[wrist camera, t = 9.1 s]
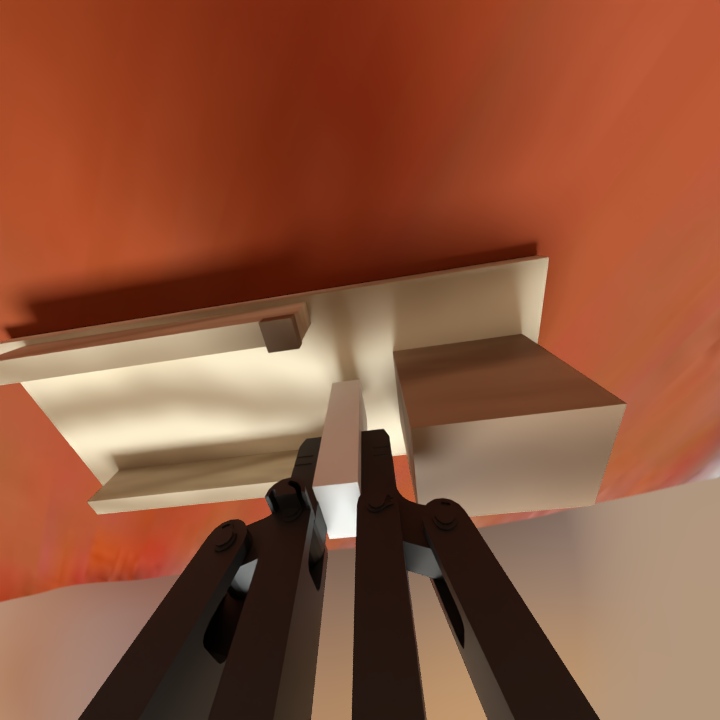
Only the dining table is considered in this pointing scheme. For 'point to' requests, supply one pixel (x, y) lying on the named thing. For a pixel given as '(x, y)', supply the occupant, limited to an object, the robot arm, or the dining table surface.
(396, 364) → the walnut block
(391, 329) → the railed wooden board
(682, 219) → the dining table surface
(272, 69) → the dining table surface
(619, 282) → the dining table surface
